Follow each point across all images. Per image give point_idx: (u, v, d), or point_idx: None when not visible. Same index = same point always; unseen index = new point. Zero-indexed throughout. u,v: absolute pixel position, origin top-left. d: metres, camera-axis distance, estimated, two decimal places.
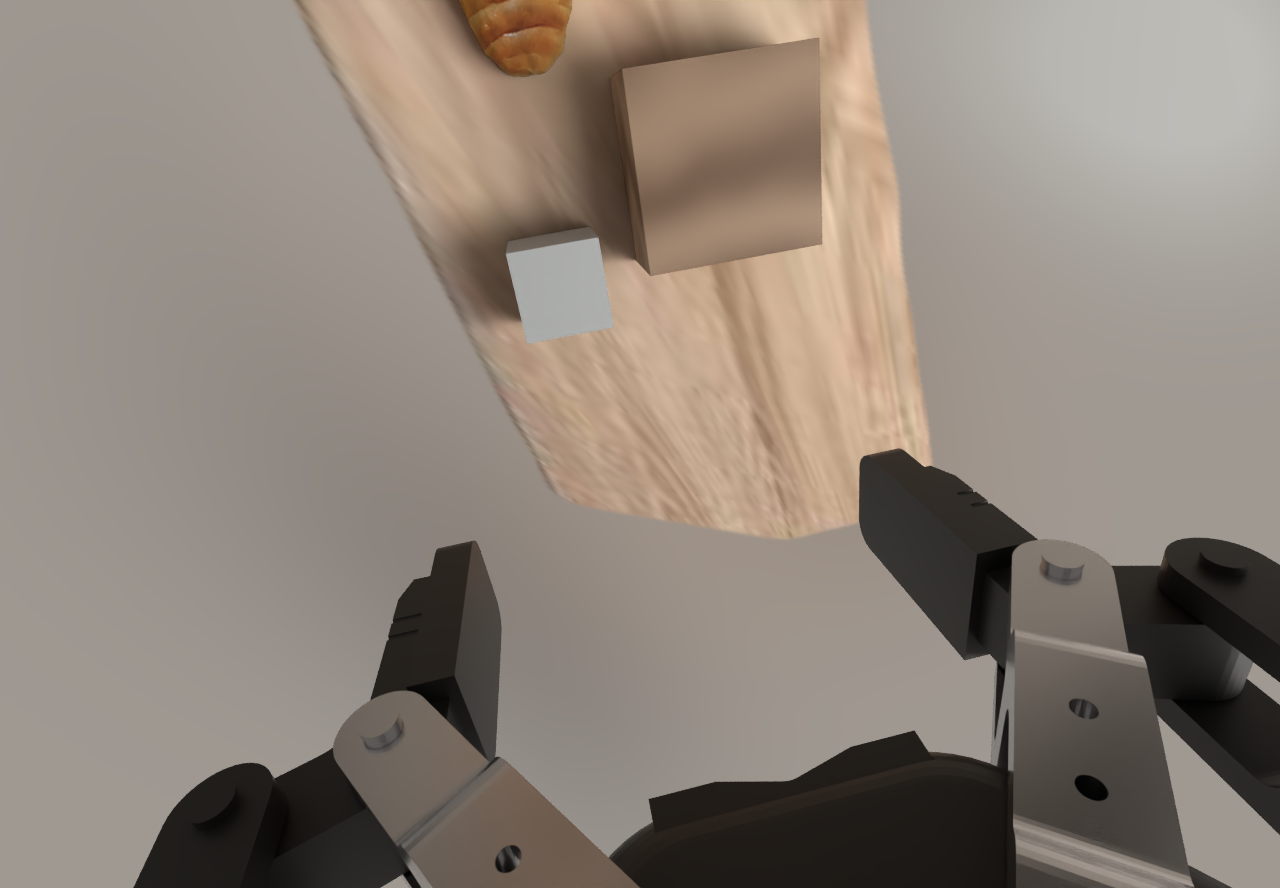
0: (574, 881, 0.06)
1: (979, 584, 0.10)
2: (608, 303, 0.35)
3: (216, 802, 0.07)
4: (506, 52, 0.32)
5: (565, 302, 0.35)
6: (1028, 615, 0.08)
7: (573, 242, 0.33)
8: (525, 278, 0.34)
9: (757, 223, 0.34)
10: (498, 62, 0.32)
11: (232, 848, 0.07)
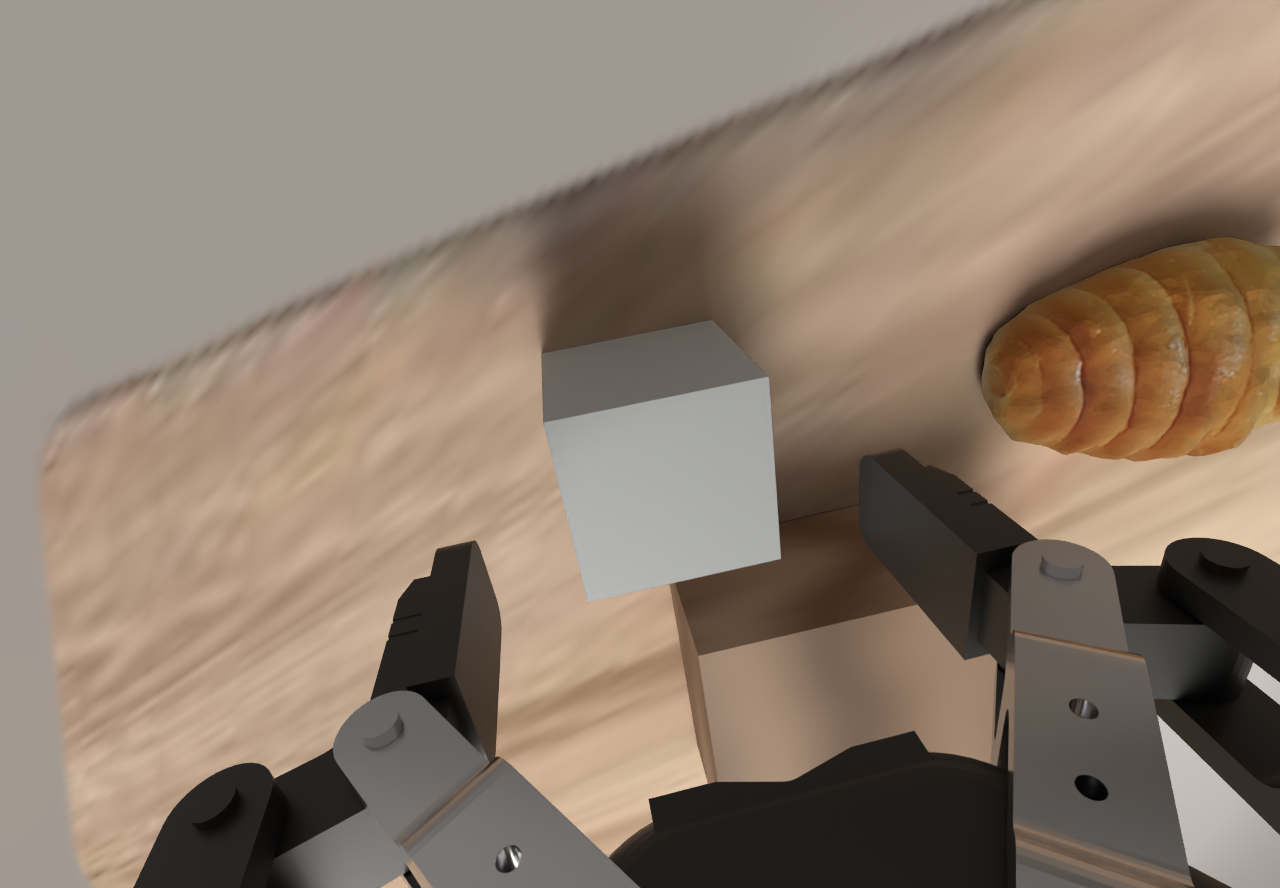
0: (574, 881, 0.06)
1: (979, 584, 0.10)
2: (642, 587, 0.16)
3: (215, 802, 0.07)
4: (1050, 361, 0.18)
5: (648, 505, 0.15)
6: (1028, 615, 0.08)
7: (776, 514, 0.15)
8: (709, 419, 0.14)
9: None
10: (1030, 343, 0.18)
11: (232, 848, 0.07)
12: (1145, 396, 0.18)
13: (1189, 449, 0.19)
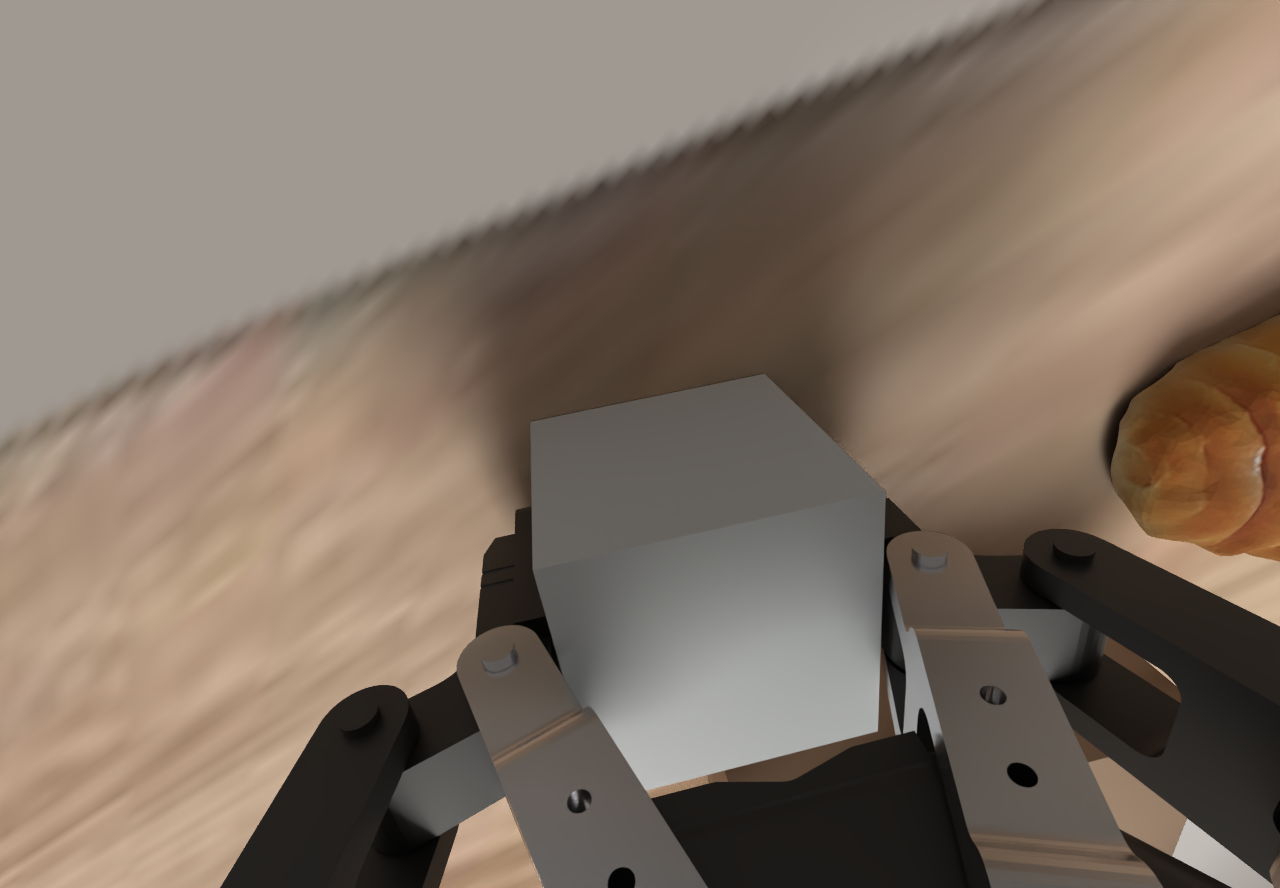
0: (634, 840, 0.06)
1: None
2: (678, 779, 0.11)
3: (360, 716, 0.08)
4: (1220, 446, 0.14)
5: (692, 675, 0.10)
6: (915, 609, 0.08)
7: (876, 675, 0.10)
8: (790, 554, 0.09)
9: None
10: (1191, 421, 0.14)
11: (383, 752, 0.08)
12: None
13: None
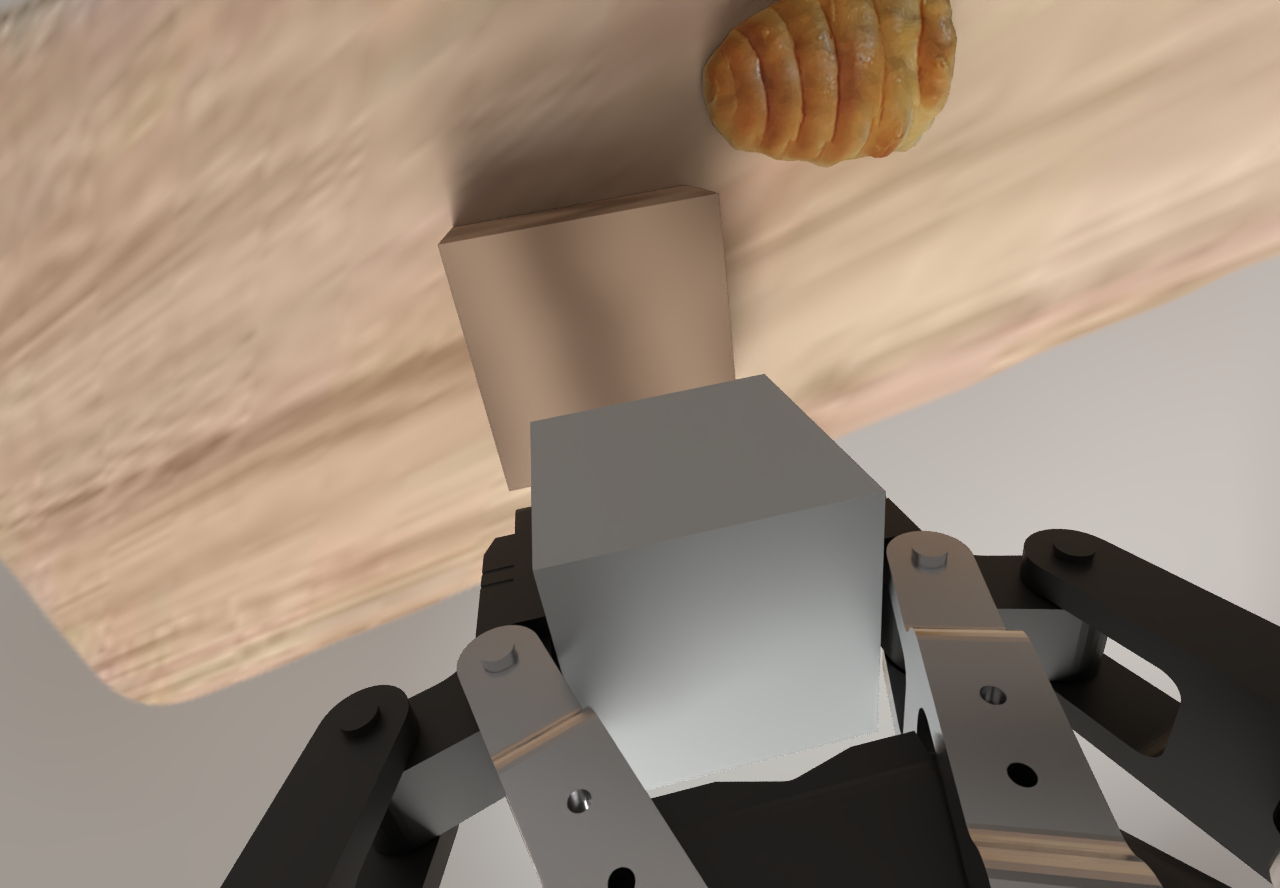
0: (634, 840, 0.06)
1: None
2: (678, 779, 0.11)
3: (361, 715, 0.08)
4: (737, 62, 0.23)
5: (692, 675, 0.10)
6: (915, 609, 0.08)
7: (876, 676, 0.10)
8: (790, 554, 0.09)
9: (531, 401, 0.24)
10: (723, 50, 0.23)
11: (383, 752, 0.08)
12: (810, 84, 0.23)
13: (858, 136, 0.24)
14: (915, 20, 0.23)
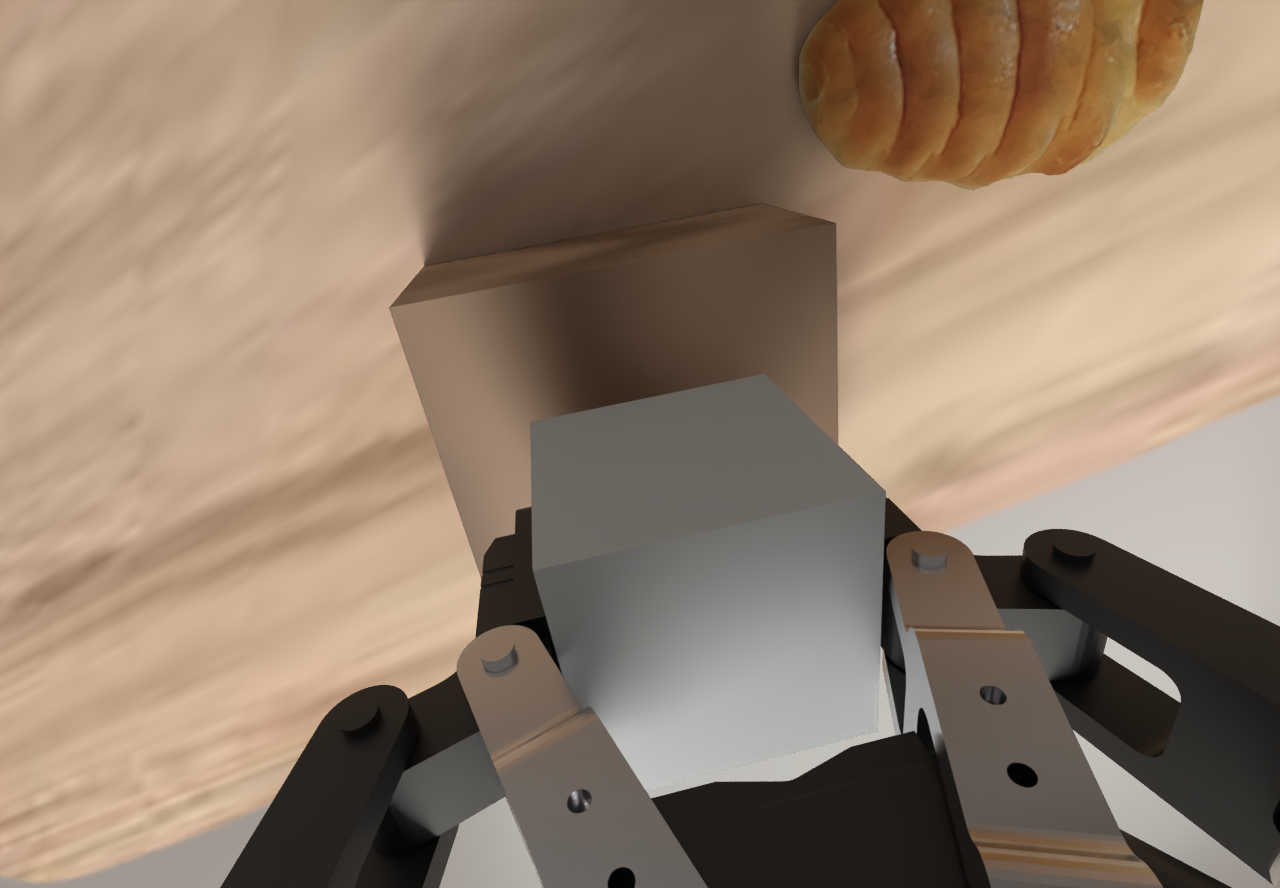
0: (634, 840, 0.06)
1: None
2: (678, 779, 0.11)
3: (360, 716, 0.08)
4: (859, 37, 0.15)
5: (693, 675, 0.10)
6: (915, 609, 0.08)
7: (876, 676, 0.10)
8: (790, 554, 0.09)
9: None
10: (837, 20, 0.15)
11: (383, 752, 0.08)
12: (973, 69, 0.15)
13: (1038, 146, 0.16)
14: None
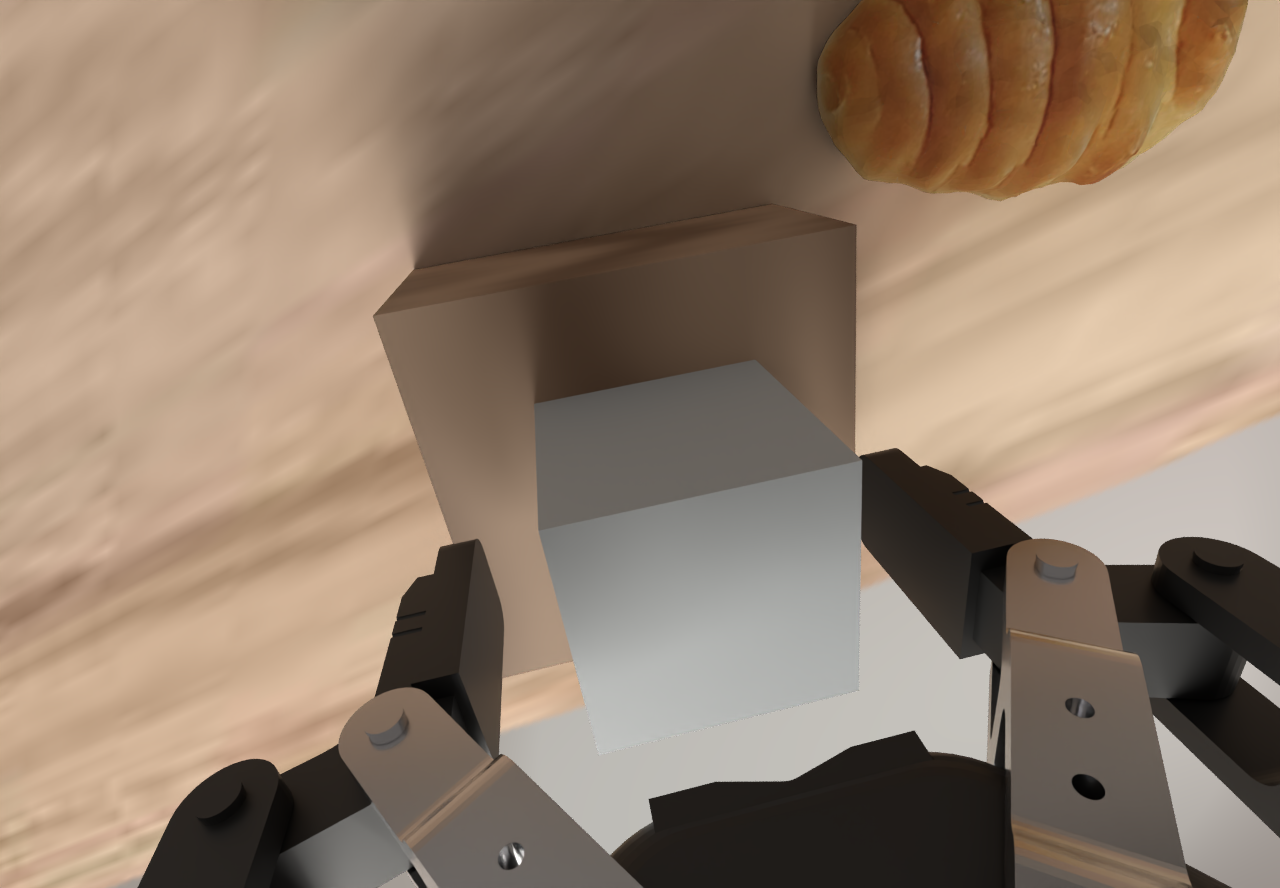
0: (577, 879, 0.06)
1: (974, 583, 0.10)
2: (672, 734, 0.11)
3: (222, 798, 0.07)
4: (883, 45, 0.14)
5: (685, 633, 0.10)
6: (1023, 614, 0.08)
7: (856, 636, 0.11)
8: (775, 519, 0.10)
9: (534, 553, 0.15)
10: (858, 27, 0.15)
11: (238, 843, 0.07)
12: (1004, 76, 0.14)
13: (1072, 156, 0.15)
14: None
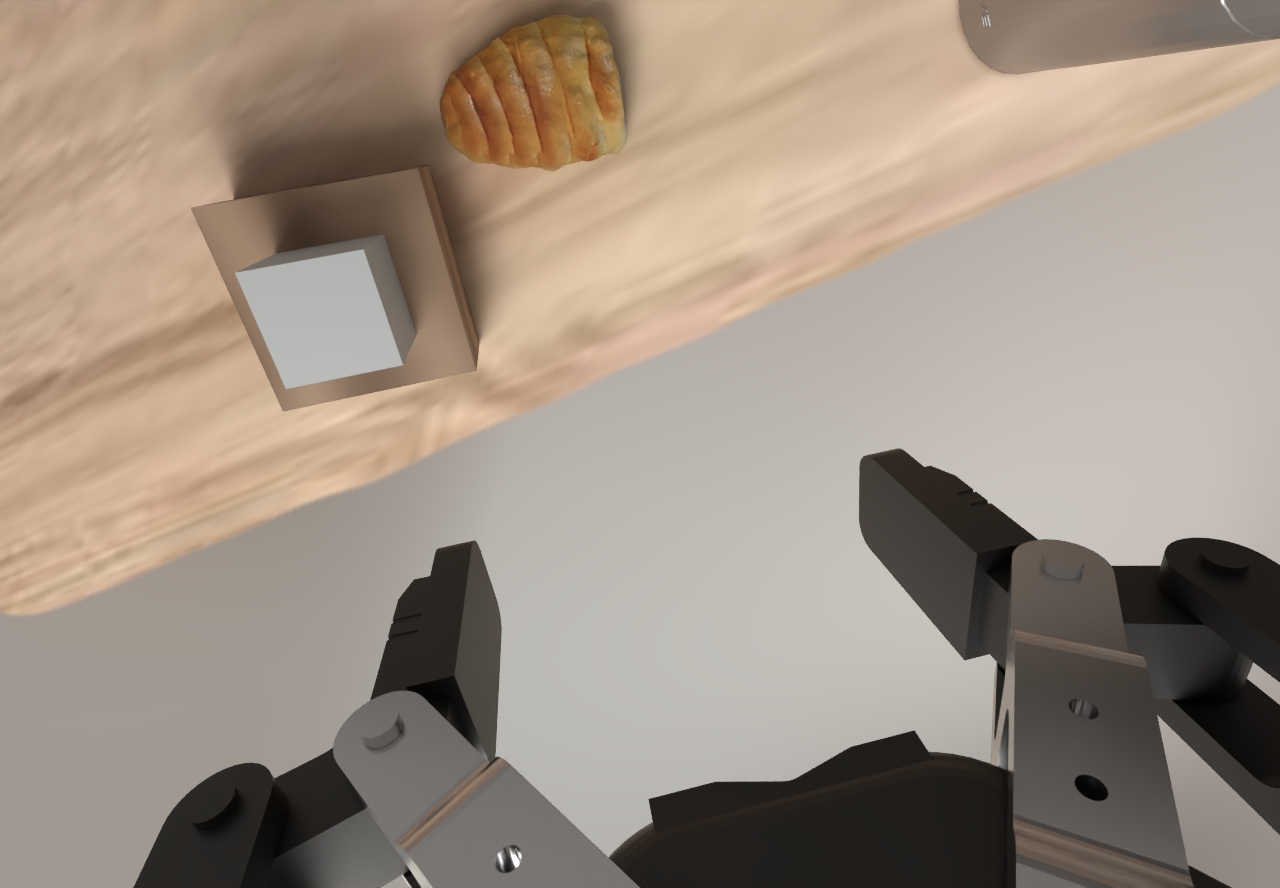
0: (574, 881, 0.06)
1: (979, 584, 0.10)
2: (318, 380, 0.27)
3: (215, 802, 0.07)
4: (455, 97, 0.31)
5: (310, 326, 0.26)
6: (1028, 615, 0.08)
7: (392, 335, 0.27)
8: (334, 273, 0.25)
9: None
10: (445, 89, 0.31)
11: (232, 848, 0.07)
12: (510, 111, 0.30)
13: (559, 147, 0.31)
14: (583, 57, 0.30)
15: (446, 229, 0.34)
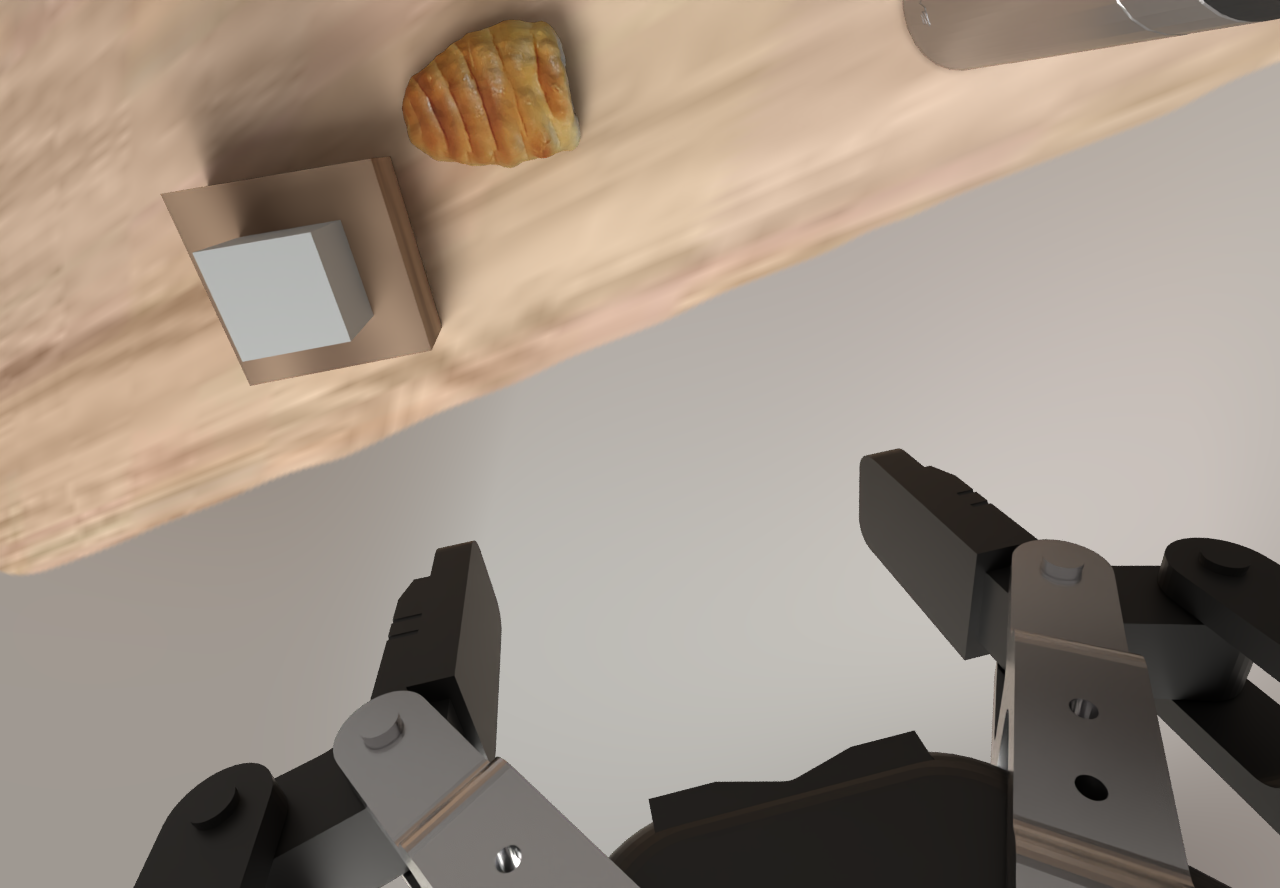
0: (574, 881, 0.06)
1: (979, 584, 0.10)
2: (272, 354, 0.29)
3: (216, 802, 0.07)
4: (414, 100, 0.33)
5: (263, 303, 0.28)
6: (1028, 615, 0.08)
7: (339, 313, 0.29)
8: (283, 255, 0.28)
9: None
10: (405, 92, 0.33)
11: (232, 848, 0.07)
12: (465, 112, 0.32)
13: (512, 145, 0.33)
14: (531, 60, 0.32)
15: (407, 217, 0.37)
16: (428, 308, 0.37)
